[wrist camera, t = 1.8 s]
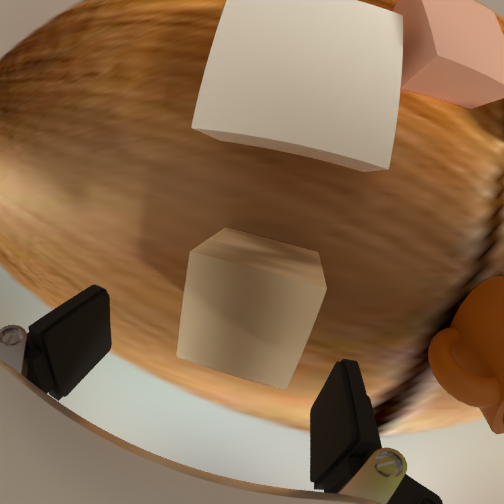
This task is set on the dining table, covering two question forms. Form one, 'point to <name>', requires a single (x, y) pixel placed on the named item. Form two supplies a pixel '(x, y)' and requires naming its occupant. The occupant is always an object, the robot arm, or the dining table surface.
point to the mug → (475, 352)
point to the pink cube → (452, 51)
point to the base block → (305, 80)
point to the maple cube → (249, 306)
